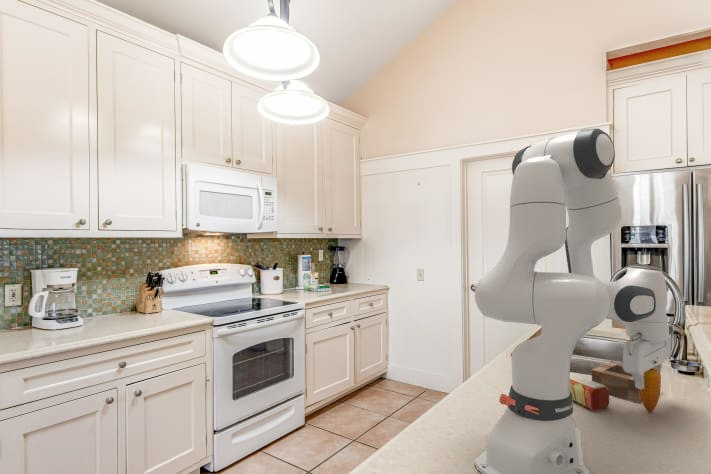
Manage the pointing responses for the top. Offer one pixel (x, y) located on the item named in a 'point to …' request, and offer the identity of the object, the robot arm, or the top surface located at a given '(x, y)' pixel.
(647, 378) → the carrot
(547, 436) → the robot arm
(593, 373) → the socket block
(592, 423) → the top surface
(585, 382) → the snack package
